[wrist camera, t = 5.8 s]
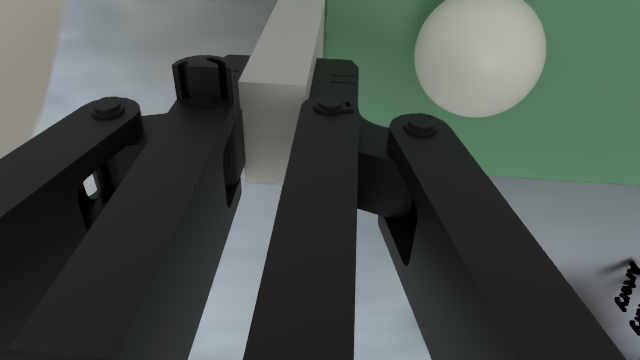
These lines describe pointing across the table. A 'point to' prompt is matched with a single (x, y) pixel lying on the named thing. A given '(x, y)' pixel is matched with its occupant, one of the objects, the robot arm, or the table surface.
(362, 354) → the table surface
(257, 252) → the table surface
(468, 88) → the ball
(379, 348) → the table surface
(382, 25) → the green
